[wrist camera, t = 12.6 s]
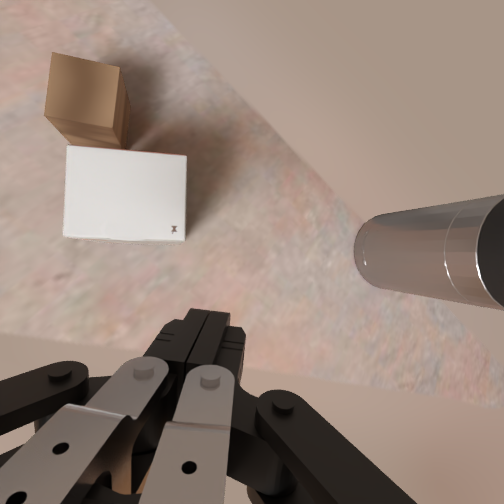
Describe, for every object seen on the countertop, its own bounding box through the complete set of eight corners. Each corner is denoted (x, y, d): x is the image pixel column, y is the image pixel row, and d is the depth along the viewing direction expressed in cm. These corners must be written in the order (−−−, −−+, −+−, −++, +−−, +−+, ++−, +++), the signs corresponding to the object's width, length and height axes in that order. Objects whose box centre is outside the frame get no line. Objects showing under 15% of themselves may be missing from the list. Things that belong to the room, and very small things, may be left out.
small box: (183, 186, 37) (189, 153, 25) (181, 245, 37) (187, 243, 25) (101, 180, 35) (64, 142, 23) (100, 243, 35) (61, 239, 23)
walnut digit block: (131, 103, 36) (120, 63, 28) (124, 154, 36) (112, 128, 28) (78, 93, 35) (52, 48, 27) (72, 145, 35) (44, 115, 27)
